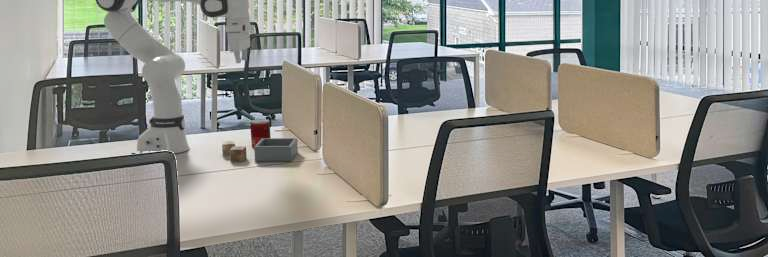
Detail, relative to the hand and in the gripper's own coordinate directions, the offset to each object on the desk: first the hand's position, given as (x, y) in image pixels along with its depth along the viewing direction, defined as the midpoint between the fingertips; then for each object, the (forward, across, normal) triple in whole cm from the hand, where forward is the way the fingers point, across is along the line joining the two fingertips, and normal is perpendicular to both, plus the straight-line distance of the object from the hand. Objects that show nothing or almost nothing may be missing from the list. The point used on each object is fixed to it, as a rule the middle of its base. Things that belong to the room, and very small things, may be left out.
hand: (241, 61), depth 279 cm
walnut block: (+37, +12, -1) cm, 39 cm away
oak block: (+36, +3, -7) cm, 37 cm away
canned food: (+37, -10, +3) cm, 38 cm away
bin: (+37, +8, +13) cm, 40 cm away
